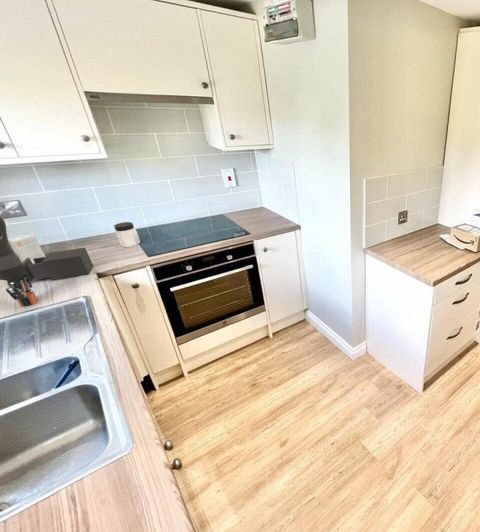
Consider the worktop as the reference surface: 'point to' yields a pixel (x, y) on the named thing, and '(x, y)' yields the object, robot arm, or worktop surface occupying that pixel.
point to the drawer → (35, 269)
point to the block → (30, 298)
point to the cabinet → (67, 263)
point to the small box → (26, 247)
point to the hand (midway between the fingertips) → (29, 302)
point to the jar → (126, 234)
